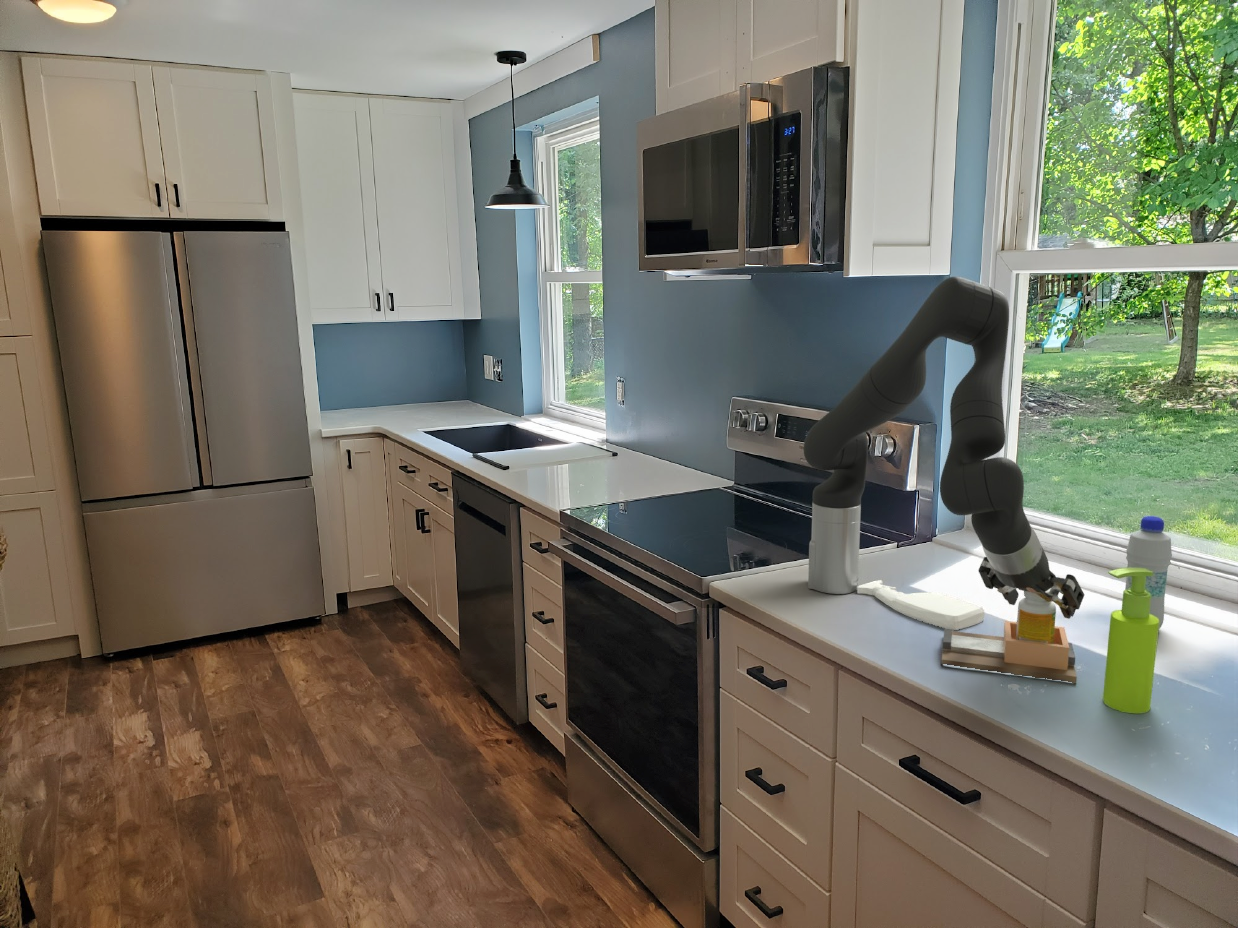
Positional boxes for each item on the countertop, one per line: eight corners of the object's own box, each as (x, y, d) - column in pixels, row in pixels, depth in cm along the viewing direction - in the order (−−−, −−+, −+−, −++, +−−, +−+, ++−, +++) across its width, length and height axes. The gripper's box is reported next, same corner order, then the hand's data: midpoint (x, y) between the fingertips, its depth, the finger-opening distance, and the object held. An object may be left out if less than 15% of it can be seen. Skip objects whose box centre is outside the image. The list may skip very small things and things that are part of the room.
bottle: (1158, 623, 157) (1170, 513, 153) (1168, 637, 151) (1180, 522, 147) (1115, 619, 159) (1126, 510, 155) (1123, 633, 153) (1134, 520, 149)
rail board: (941, 666, 141) (941, 659, 141) (944, 636, 153) (944, 630, 153) (1076, 684, 134) (1076, 676, 134) (1068, 651, 146) (1069, 644, 146)
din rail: (942, 650, 144) (943, 641, 144) (944, 637, 149) (944, 628, 149) (1074, 667, 137) (1075, 657, 137) (1071, 652, 142) (1071, 643, 142)
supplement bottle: (1057, 654, 138) (1062, 594, 136) (1019, 652, 139) (1024, 592, 137) (1048, 641, 143) (1052, 583, 142) (1012, 639, 144) (1016, 581, 143)
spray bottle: (951, 635, 154) (844, 598, 175) (990, 621, 160) (883, 587, 181) (951, 618, 154) (844, 583, 174) (991, 605, 160) (883, 573, 180)
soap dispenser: (1087, 696, 130) (1099, 564, 126) (1132, 693, 131) (1145, 562, 127) (1112, 715, 124) (1125, 577, 120) (1159, 712, 125) (1174, 575, 121)
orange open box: (1004, 662, 139) (1005, 640, 139) (1003, 641, 147) (1004, 620, 147) (1067, 669, 136) (1069, 647, 135) (1062, 648, 144) (1064, 627, 143)
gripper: (1073, 539, 127) (1097, 597, 137) (976, 521, 138) (1005, 576, 147) (1055, 583, 125) (1080, 639, 135) (957, 562, 135) (988, 615, 145)
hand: (1041, 606), depth 141 cm, fingers open, 8 cm apart
